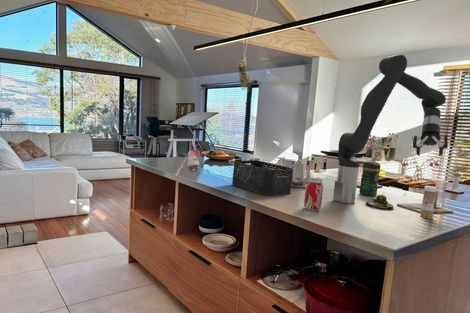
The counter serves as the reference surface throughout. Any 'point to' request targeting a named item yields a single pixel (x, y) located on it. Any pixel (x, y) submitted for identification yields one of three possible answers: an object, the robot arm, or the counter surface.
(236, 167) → the storage bin
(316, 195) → the soda can
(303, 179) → the chinaware
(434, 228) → the counter surface
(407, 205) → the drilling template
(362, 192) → the coffee jar
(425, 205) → the sprinkles bottle
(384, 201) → the olive green hat
